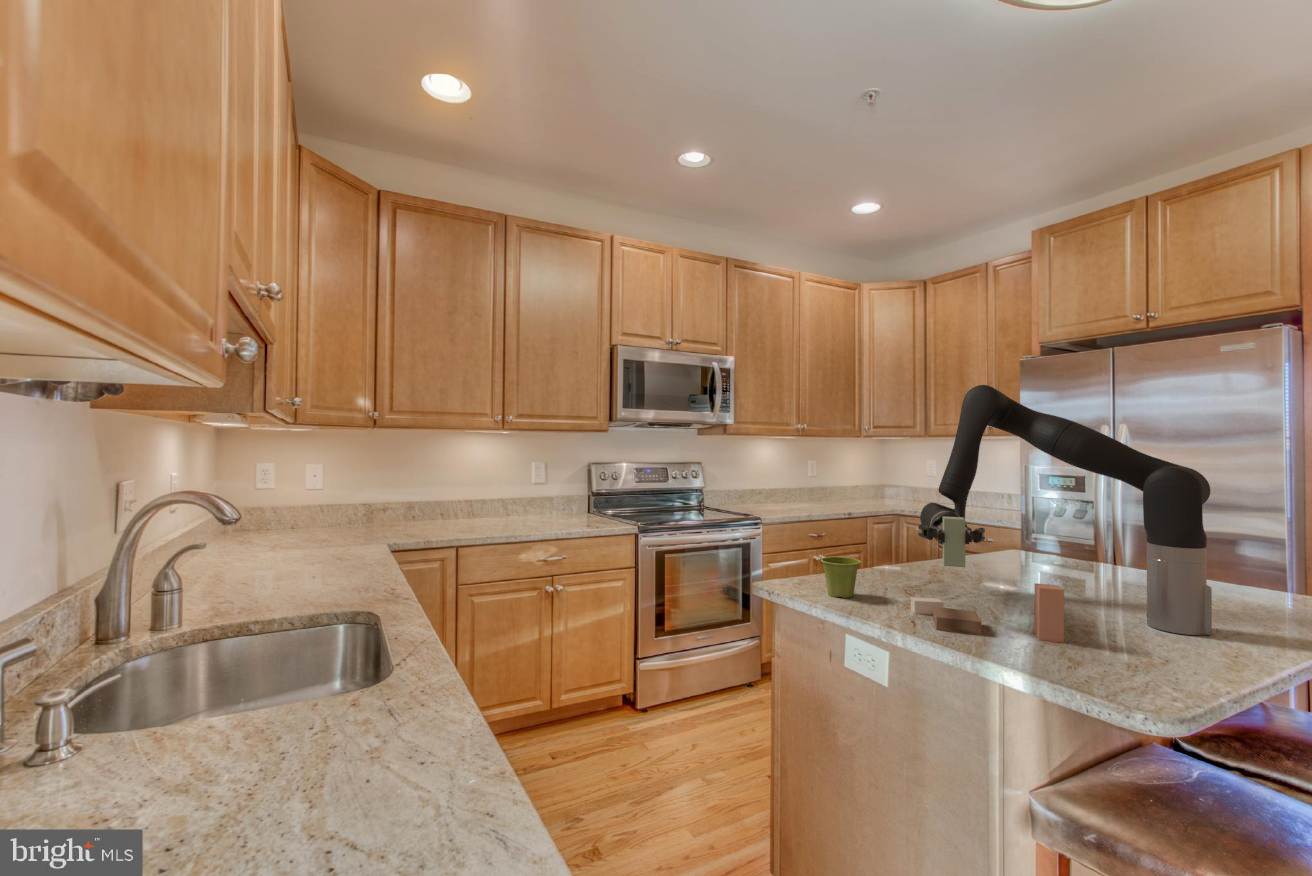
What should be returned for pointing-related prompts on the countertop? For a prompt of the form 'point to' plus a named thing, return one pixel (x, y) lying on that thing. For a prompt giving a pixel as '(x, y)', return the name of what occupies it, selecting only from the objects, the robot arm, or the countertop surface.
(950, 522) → the sage block
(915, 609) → the cream brick
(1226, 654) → the countertop surface
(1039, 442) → the robot arm
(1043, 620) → the terracotta block
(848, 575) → the object
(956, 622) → the walnut brick
